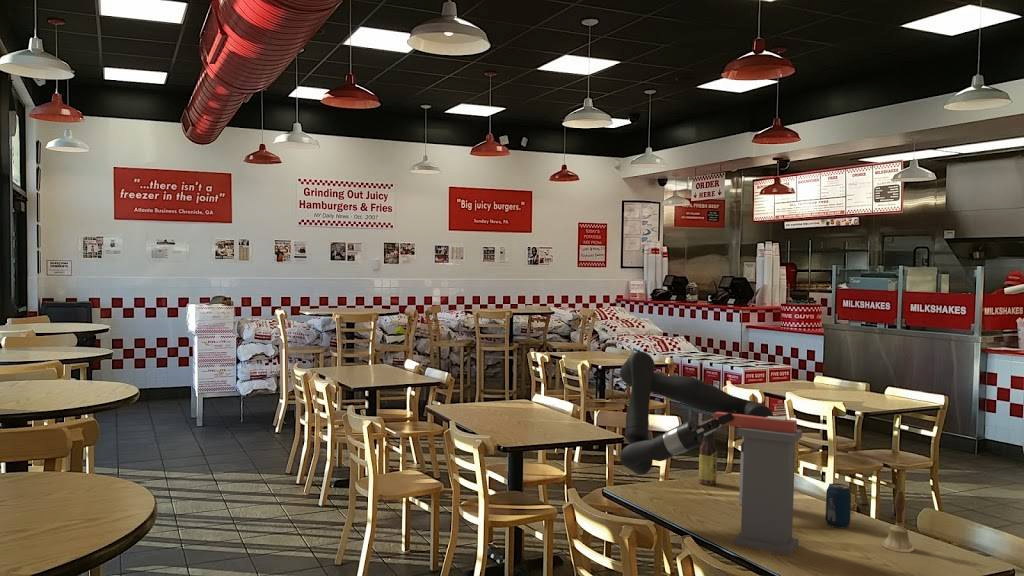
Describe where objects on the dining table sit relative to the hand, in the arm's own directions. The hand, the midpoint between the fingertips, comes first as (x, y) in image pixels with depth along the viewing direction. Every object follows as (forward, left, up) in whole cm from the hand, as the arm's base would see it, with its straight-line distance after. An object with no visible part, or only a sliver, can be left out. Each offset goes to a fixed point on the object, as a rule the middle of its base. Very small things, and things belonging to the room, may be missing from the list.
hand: (734, 414), depth 229 cm
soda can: (-39, -6, -35) cm, 53 cm away
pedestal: (-7, +7, -35) cm, 36 cm away
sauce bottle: (-23, -58, -35) cm, 72 cm away
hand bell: (-43, +15, -35) cm, 58 cm away
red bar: (-4, +4, -3) cm, 6 cm away
